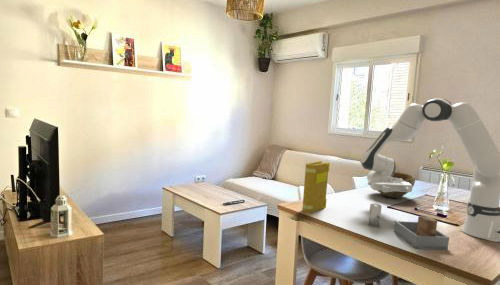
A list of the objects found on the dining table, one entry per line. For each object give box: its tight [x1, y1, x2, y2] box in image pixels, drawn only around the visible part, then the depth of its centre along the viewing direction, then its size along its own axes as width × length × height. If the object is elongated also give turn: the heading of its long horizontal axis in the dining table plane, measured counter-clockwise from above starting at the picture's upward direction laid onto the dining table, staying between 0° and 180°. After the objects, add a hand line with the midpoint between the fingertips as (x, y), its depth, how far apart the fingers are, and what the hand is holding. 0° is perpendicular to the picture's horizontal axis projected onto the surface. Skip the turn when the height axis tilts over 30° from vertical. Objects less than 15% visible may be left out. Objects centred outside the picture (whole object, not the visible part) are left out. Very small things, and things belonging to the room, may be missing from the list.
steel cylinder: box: [368, 203, 382, 228], centre depth 156 cm, size 5×5×10 cm
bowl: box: [376, 171, 416, 199], centre depth 213 cm, size 28×27×15 cm
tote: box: [393, 220, 450, 250], centre depth 141 cm, size 14×18×5 cm
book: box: [301, 160, 331, 214], centre depth 175 cm, size 17×7×25 cm, turn 141°
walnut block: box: [416, 215, 438, 236], centre depth 137 cm, size 5×5×10 cm
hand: (398, 190), depth 160 cm, fingers open, 8 cm apart
